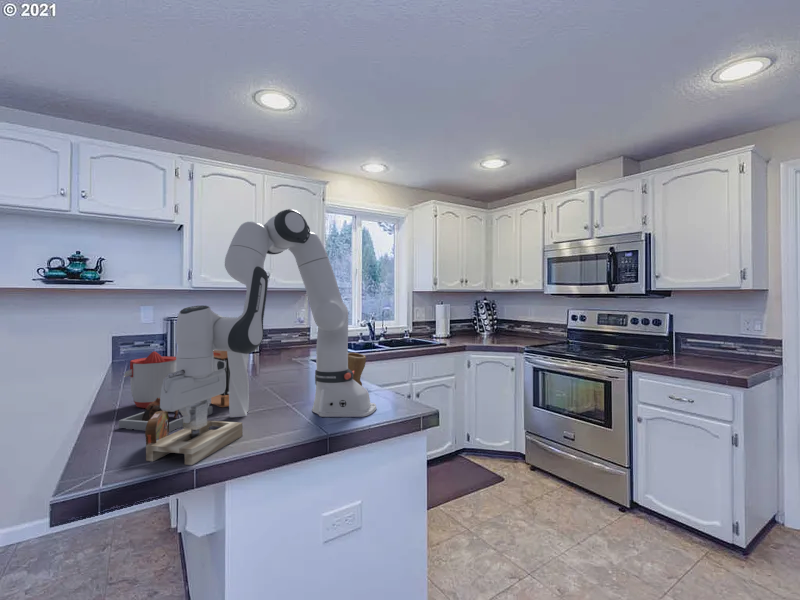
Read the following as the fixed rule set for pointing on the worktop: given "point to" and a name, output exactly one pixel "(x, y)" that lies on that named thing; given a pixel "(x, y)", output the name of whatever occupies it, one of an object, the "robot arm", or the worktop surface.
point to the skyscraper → (238, 384)
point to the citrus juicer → (149, 377)
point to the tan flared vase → (356, 365)
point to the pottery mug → (153, 410)
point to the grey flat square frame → (138, 424)
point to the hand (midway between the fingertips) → (195, 418)
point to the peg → (196, 419)
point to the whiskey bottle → (223, 398)
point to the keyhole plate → (195, 442)
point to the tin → (157, 427)
